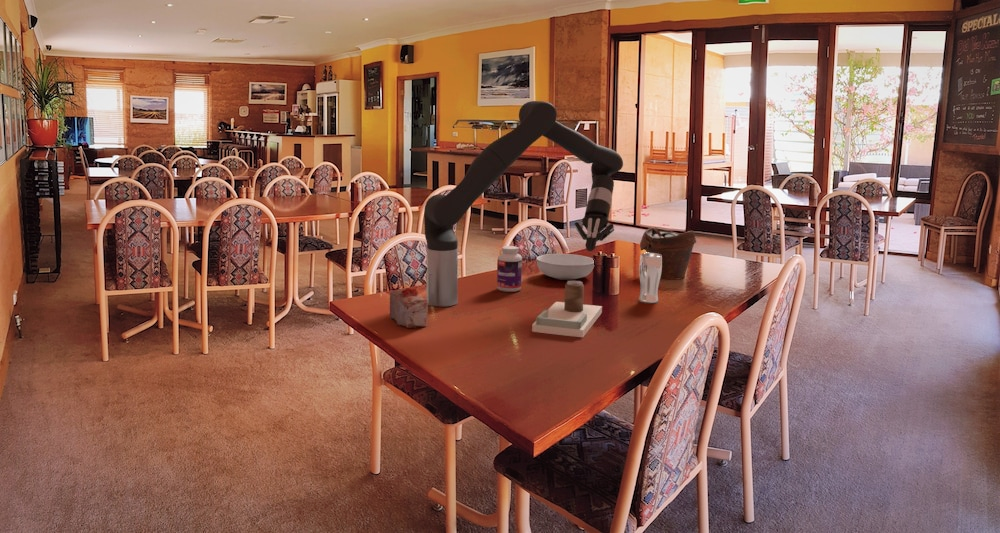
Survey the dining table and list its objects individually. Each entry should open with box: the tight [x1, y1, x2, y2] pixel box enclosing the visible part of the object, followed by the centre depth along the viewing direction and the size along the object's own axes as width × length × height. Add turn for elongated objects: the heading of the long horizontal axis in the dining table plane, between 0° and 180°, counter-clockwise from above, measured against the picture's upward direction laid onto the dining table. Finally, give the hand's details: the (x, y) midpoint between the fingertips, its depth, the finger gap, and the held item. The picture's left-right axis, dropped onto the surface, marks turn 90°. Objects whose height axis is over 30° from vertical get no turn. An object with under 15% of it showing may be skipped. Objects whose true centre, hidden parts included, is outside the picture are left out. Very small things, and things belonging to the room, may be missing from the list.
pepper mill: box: [564, 280, 585, 312], centre depth 211 cm, size 5×5×8 cm
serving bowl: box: [536, 253, 595, 281], centre depth 261 cm, size 21×21×7 cm
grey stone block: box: [389, 287, 429, 329], centre depth 202 cm, size 14×8×10 cm, turn 33°
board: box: [531, 301, 603, 338], centre depth 206 cm, size 26×14×4 cm, turn 161°
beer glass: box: [638, 252, 662, 304], centre depth 229 cm, size 7×7×15 cm
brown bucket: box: [639, 227, 697, 280], centre depth 266 cm, size 18×20×18 cm
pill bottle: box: [496, 245, 523, 293], centre depth 241 cm, size 8×8×14 cm
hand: (589, 249), depth 225 cm, fingers closed
